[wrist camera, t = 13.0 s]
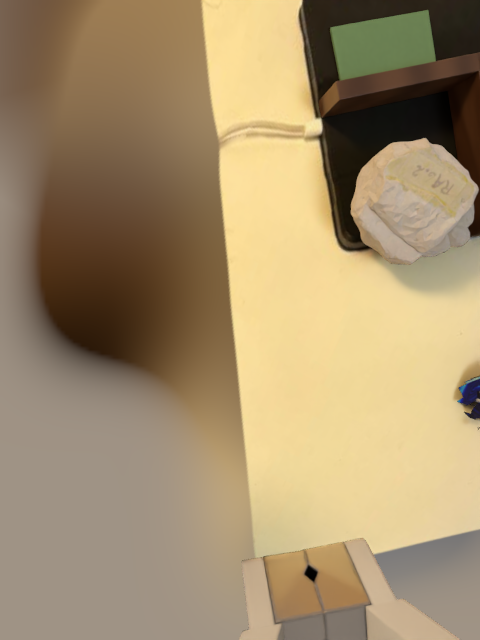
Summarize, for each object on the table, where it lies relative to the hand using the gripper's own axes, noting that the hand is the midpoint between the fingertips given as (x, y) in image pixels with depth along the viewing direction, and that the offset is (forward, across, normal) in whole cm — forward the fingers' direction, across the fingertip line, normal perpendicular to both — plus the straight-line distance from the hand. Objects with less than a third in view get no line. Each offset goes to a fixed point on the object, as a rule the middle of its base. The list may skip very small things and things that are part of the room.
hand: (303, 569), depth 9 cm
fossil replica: (+31, -18, -7) cm, 37 cm away
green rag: (+33, -18, -21) cm, 43 cm away
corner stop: (+32, -19, -11) cm, 39 cm away
